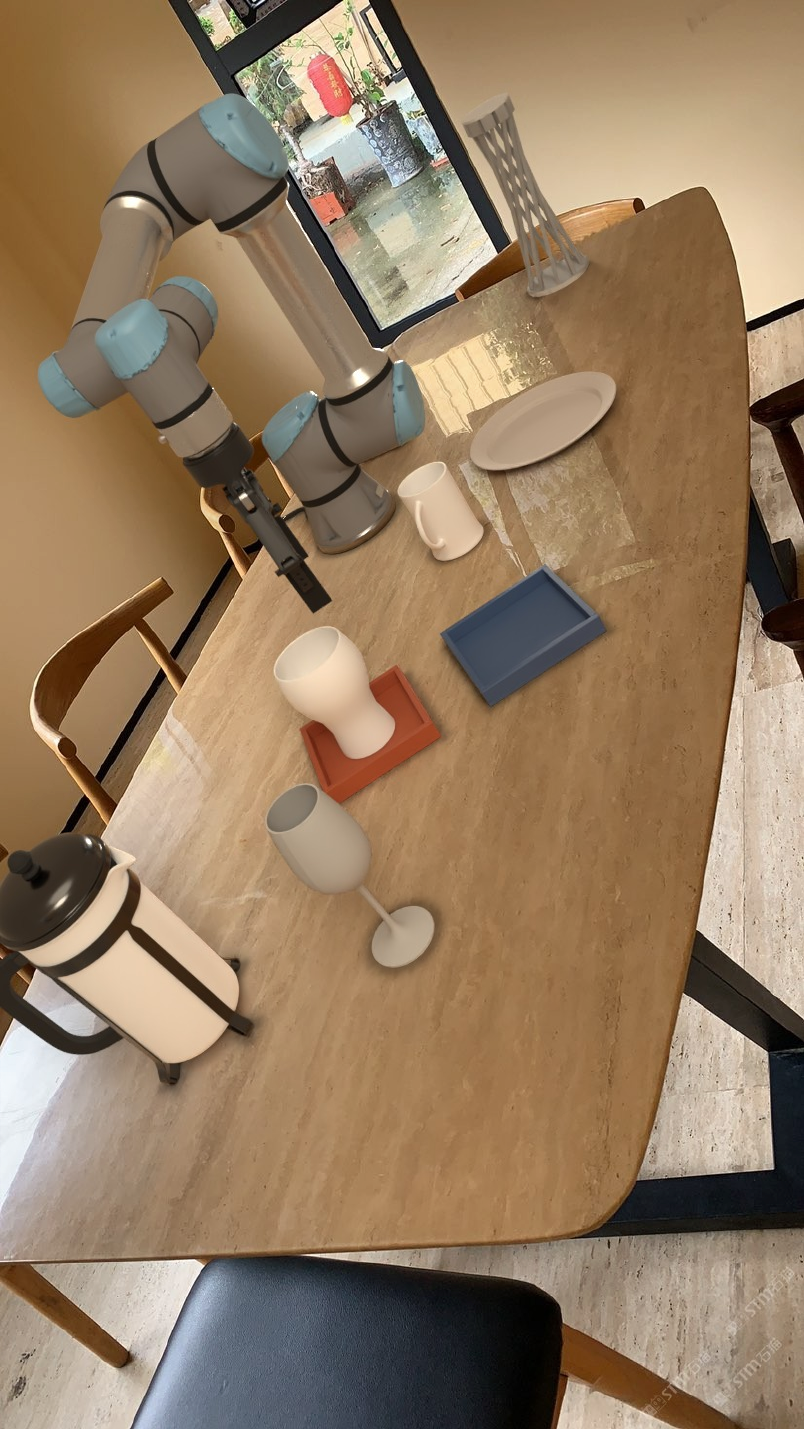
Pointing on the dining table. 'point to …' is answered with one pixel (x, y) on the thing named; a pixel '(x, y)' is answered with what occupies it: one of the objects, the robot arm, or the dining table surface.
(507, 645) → the mug tray
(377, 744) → the cup
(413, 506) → the mug
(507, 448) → the plate
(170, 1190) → the dining table surface
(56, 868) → the coffee press
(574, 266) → the grey lattice tower
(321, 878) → the wineglass
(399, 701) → the cup tray
